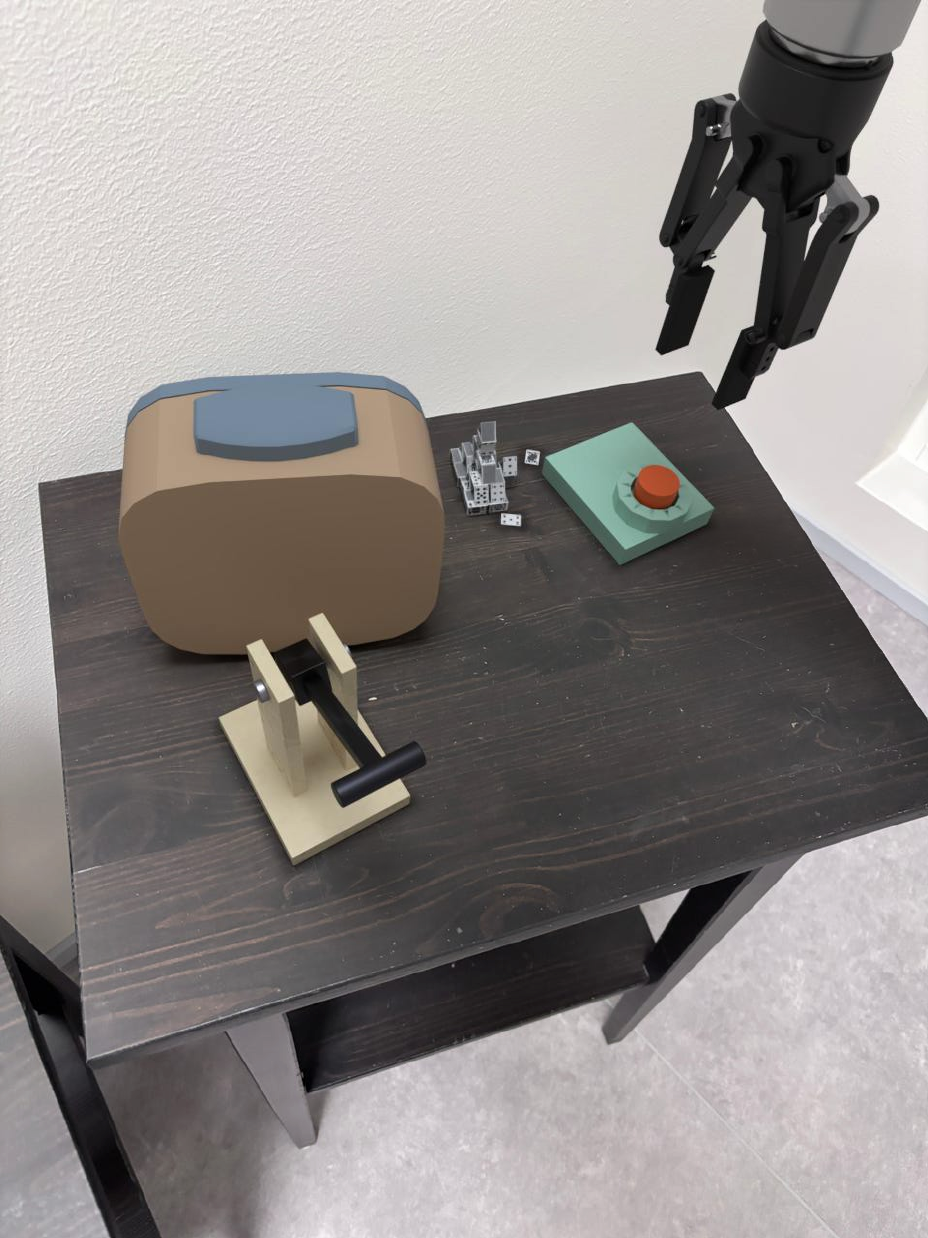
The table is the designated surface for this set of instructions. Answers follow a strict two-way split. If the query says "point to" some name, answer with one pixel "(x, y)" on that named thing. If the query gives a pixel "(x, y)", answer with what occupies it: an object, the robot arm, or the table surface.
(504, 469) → the house of cards
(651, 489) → the button
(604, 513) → the button box
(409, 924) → the table surface
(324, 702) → the lever
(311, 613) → the alarm clock
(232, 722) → the hinged lever switch
